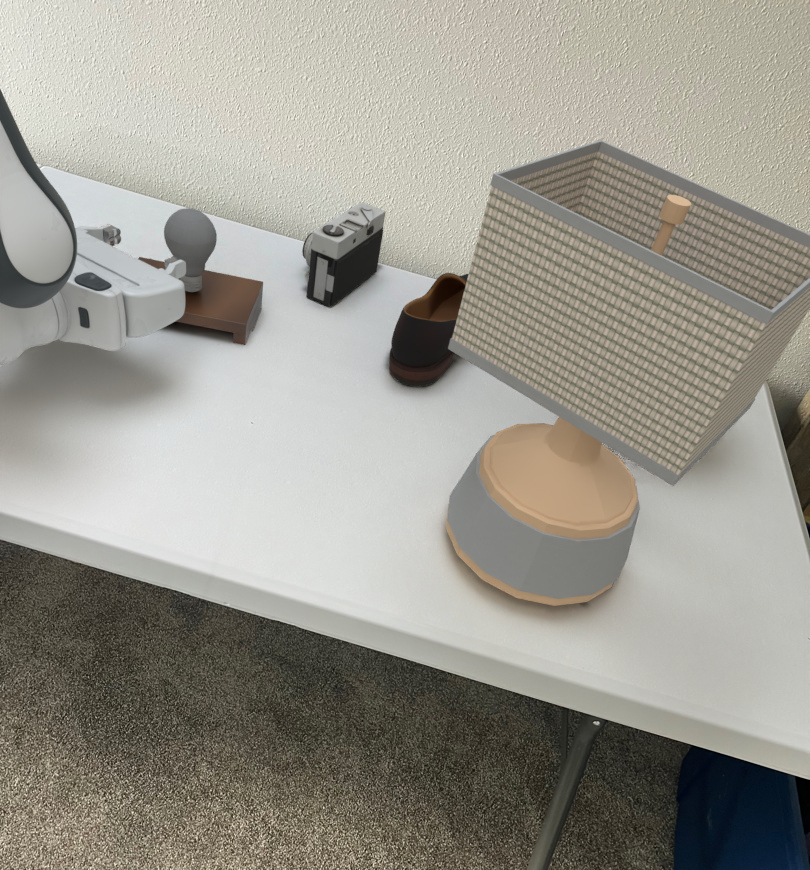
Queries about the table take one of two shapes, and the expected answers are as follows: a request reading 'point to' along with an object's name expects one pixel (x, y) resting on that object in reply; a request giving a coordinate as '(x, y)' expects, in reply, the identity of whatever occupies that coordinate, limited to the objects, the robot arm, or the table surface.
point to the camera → (343, 253)
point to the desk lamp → (609, 354)
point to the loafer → (427, 333)
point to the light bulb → (191, 243)
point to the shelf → (222, 303)
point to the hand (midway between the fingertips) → (148, 248)
